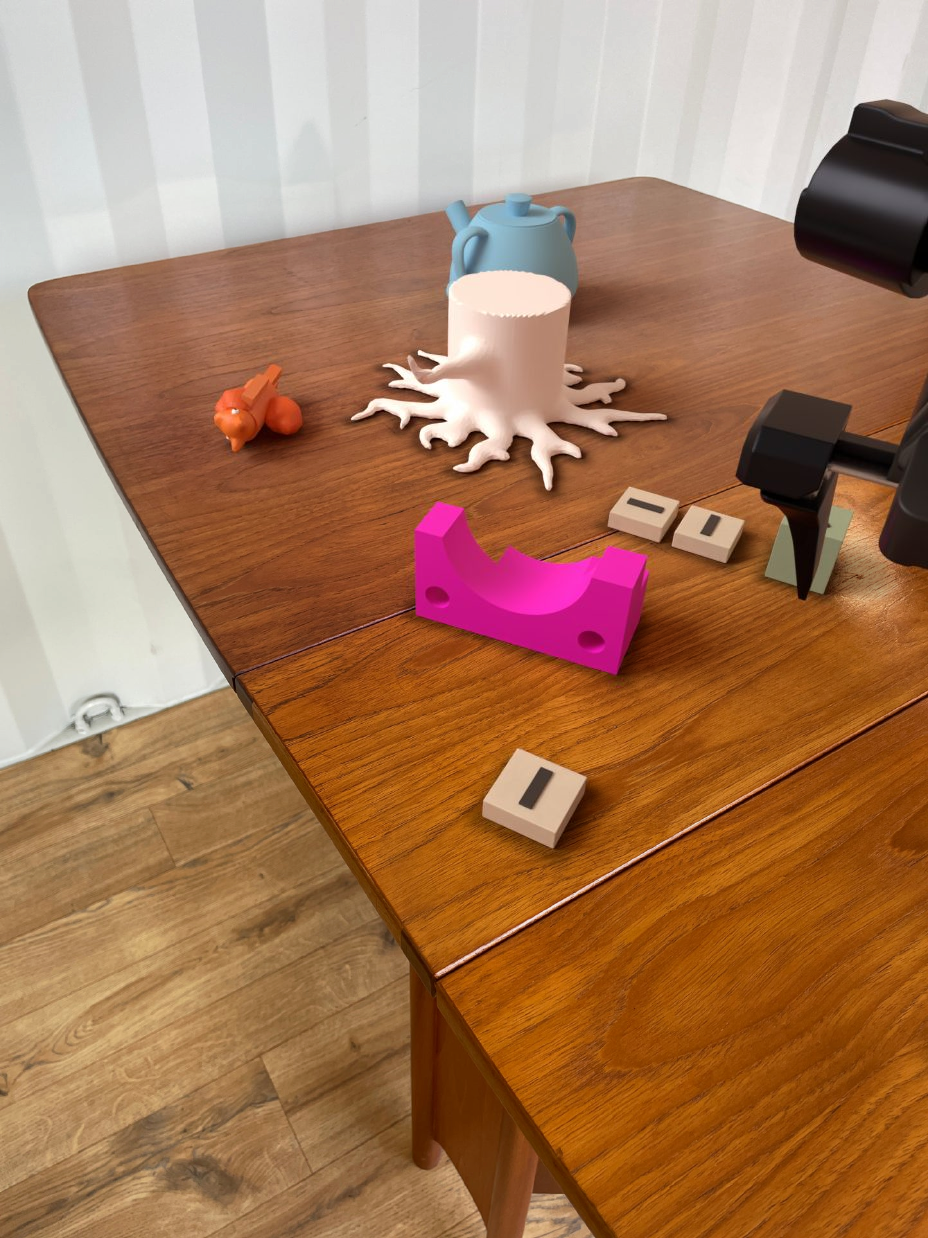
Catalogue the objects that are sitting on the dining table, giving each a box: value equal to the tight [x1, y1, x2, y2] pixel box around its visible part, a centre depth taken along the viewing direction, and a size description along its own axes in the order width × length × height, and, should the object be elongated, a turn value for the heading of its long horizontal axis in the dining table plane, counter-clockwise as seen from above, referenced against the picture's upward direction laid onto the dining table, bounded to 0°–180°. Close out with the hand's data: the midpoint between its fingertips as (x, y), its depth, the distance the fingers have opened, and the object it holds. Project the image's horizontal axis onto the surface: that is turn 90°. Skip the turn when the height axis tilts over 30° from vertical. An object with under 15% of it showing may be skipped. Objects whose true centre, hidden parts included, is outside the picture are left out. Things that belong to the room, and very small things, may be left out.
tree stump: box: [350, 270, 668, 492], centre depth 86 cm, size 28×28×11 cm
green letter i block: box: [764, 504, 855, 595], centre depth 68 cm, size 4×4×5 cm
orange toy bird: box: [212, 363, 303, 453], centre depth 83 cm, size 5×8×12 cm
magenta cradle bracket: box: [414, 501, 650, 676], centre depth 62 cm, size 15×6×8 cm, turn 67°
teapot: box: [444, 192, 579, 300], centre depth 106 cm, size 20×20×13 cm
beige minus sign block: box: [481, 747, 588, 850], centre depth 51 cm, size 4×4×2 cm
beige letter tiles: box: [607, 486, 746, 564], centre depth 73 cm, size 10×4×2 cm, turn 62°
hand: (892, 624), depth 46 cm, fingers open, 9 cm apart
